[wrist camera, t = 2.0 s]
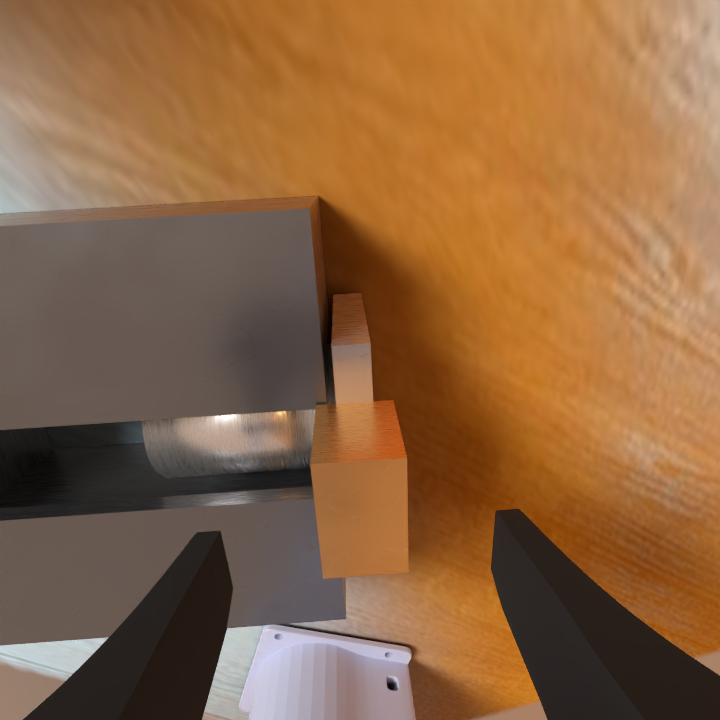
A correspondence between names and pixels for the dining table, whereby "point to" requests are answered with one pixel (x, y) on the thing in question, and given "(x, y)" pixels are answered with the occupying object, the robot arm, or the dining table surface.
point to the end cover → (316, 454)
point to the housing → (155, 406)
